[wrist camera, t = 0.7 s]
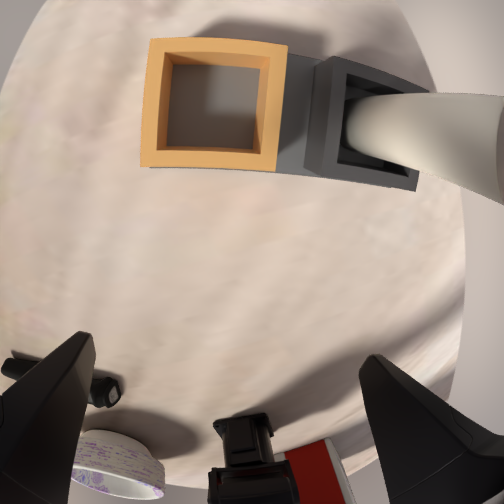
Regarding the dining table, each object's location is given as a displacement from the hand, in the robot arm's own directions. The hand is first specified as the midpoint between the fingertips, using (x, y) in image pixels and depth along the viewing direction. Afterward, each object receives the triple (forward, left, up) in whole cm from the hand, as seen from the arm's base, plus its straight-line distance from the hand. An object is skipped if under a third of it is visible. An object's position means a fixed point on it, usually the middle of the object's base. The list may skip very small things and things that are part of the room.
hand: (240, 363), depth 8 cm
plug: (+5, -10, -11) cm, 15 cm away
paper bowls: (-28, +24, -12) cm, 39 cm away
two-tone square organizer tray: (+6, -5, -12) cm, 14 cm away
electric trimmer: (-12, +22, -12) cm, 28 cm away
